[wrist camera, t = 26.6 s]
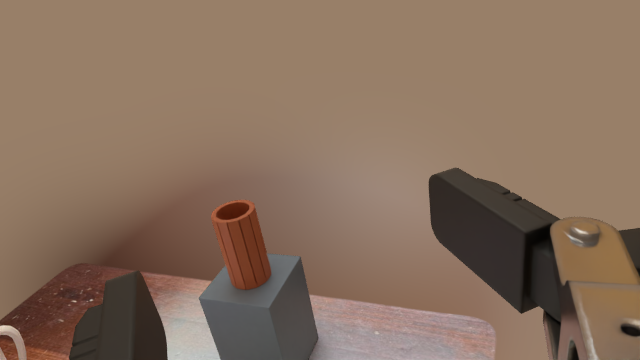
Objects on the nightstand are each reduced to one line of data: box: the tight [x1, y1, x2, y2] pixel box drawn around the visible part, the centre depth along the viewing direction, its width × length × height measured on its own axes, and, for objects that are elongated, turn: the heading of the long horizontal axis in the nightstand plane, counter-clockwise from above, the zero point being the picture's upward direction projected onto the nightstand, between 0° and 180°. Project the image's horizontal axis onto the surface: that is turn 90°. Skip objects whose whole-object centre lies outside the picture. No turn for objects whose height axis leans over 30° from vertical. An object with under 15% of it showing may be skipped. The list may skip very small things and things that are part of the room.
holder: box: [199, 200, 318, 360], centre depth 48 cm, size 8×8×20 cm
